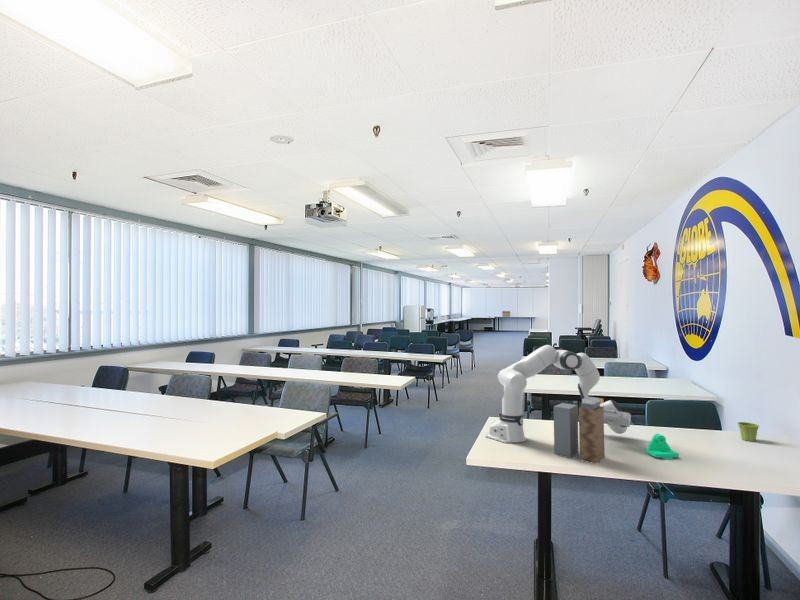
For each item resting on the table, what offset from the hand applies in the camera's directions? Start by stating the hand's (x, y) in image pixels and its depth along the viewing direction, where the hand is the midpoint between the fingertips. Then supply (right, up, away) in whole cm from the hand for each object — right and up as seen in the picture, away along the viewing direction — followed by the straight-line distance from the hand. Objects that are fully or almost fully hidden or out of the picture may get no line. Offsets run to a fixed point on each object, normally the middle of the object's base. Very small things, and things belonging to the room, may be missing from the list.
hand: (605, 409), depth 223 cm
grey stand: (-24, -20, -9) cm, 32 cm away
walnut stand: (-15, -19, -17) cm, 30 cm away
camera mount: (+21, -20, -14) cm, 32 cm away
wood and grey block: (-12, +5, -13) cm, 19 cm away
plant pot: (+85, -20, +11) cm, 88 cm away
